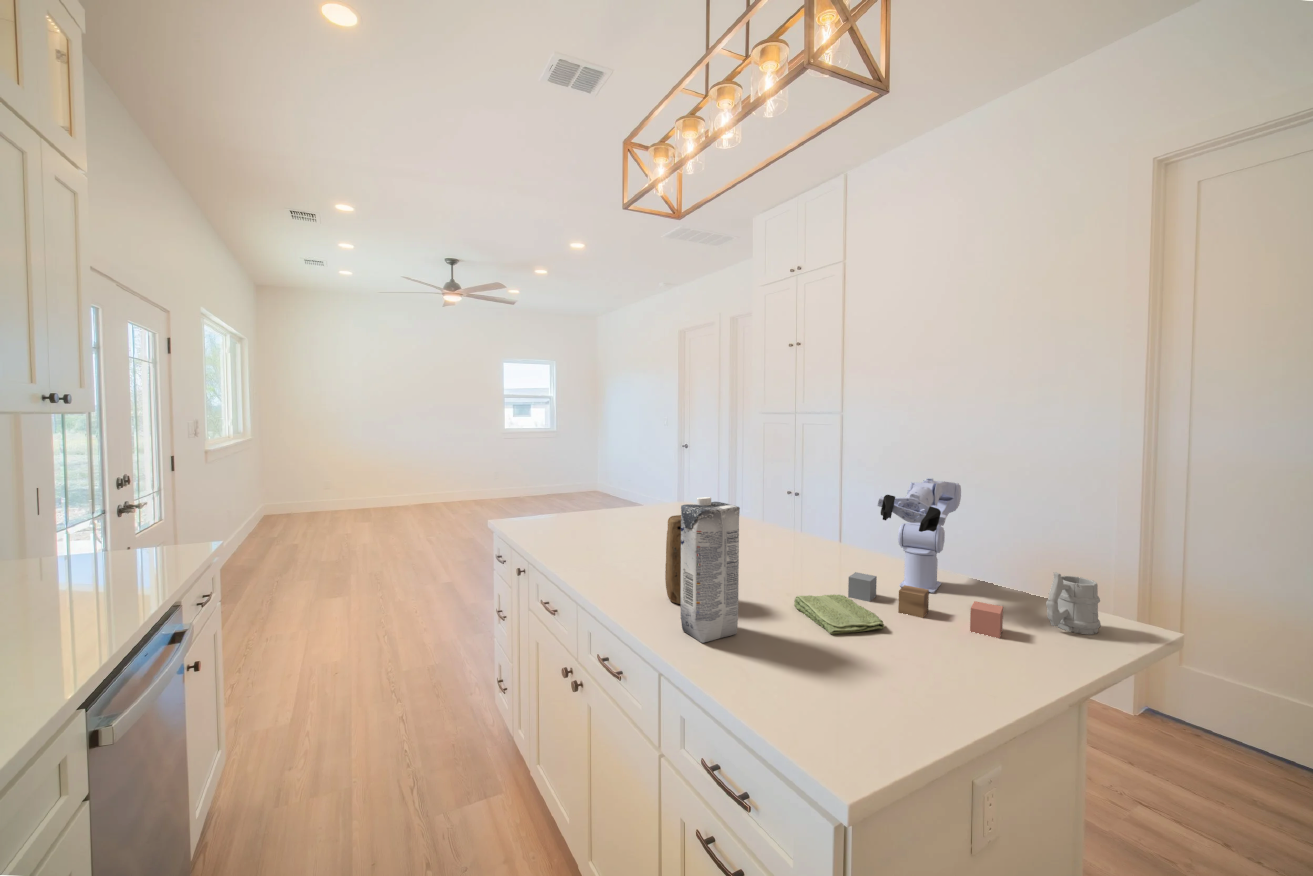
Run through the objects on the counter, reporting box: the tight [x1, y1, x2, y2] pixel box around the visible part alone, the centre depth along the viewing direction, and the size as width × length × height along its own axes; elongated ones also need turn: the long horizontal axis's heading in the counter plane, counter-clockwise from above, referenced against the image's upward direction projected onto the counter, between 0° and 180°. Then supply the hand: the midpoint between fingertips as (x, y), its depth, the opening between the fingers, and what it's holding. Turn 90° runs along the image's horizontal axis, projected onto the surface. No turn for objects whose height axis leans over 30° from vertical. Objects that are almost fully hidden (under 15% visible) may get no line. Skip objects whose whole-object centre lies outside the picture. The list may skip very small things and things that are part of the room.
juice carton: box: [680, 496, 741, 644], centre depth 104 cm, size 9×10×27 cm
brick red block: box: [969, 600, 1004, 639], centre depth 106 cm, size 5×5×5 cm
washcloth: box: [793, 594, 885, 636], centre depth 113 cm, size 13×18×3 cm
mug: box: [1045, 571, 1102, 635], centre depth 107 cm, size 8×12×12 cm, turn 108°
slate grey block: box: [847, 571, 878, 603], centre depth 126 cm, size 5×5×5 cm
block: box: [664, 514, 681, 605], centre depth 123 cm, size 11×8×20 cm
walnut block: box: [897, 585, 930, 619], centre depth 116 cm, size 5×5×5 cm
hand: (902, 521), depth 117 cm, fingers open, 7 cm apart
